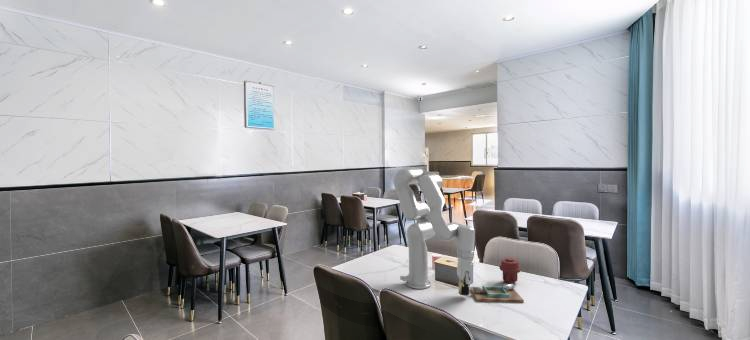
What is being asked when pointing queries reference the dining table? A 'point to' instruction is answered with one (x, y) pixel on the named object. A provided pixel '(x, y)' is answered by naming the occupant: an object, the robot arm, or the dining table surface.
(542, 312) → the dining table surface
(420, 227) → the robot arm
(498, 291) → the brown wooden board
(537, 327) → the dining table surface
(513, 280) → the mechanical component
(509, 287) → the shaft
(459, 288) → the cylinder
